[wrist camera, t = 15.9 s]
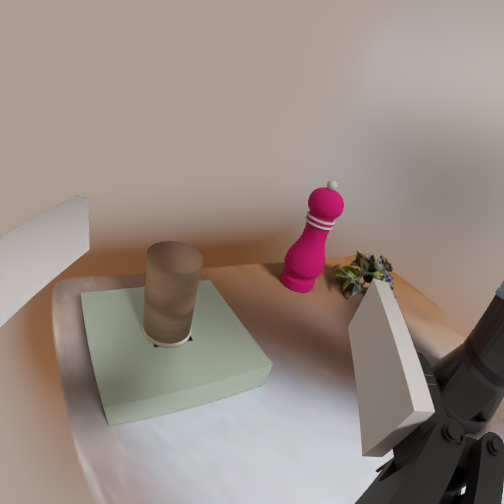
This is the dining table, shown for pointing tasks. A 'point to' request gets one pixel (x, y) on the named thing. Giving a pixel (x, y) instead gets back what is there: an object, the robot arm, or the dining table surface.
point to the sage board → (167, 356)
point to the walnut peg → (170, 293)
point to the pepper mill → (312, 240)
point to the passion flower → (365, 272)
